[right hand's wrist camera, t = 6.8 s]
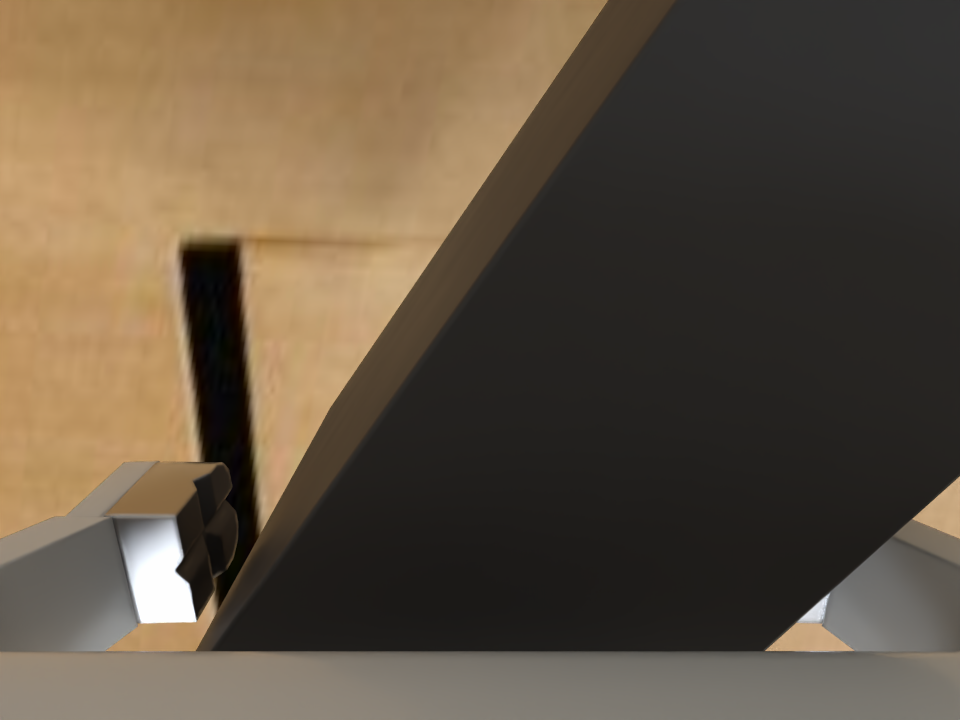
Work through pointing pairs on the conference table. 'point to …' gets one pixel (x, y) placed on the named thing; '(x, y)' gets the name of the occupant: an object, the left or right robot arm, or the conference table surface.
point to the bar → (652, 354)
